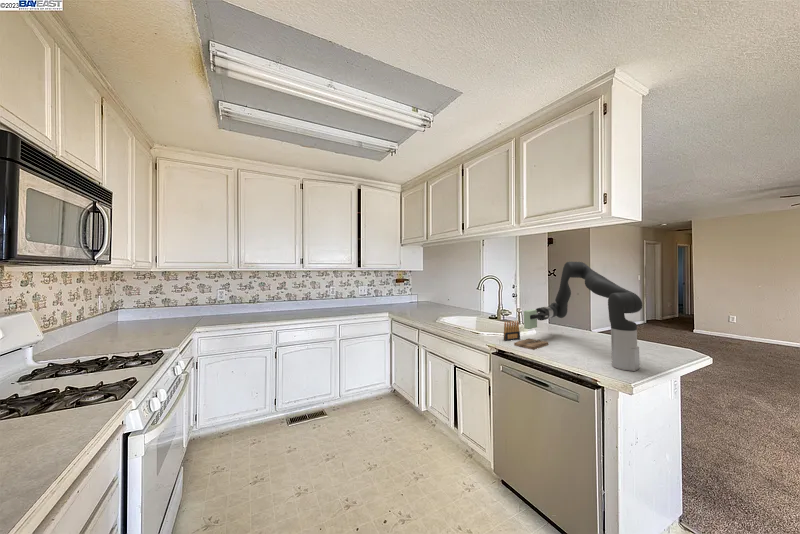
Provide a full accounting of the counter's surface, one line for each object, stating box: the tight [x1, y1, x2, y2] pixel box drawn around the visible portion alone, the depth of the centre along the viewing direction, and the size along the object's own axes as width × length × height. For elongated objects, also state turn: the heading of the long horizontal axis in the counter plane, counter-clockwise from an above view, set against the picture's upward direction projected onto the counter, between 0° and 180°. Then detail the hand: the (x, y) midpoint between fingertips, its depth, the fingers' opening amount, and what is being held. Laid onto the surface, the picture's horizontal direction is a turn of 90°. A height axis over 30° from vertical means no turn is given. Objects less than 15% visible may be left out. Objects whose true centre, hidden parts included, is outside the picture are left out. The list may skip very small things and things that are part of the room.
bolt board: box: [513, 338, 549, 351], centre depth 171 cm, size 12×15×2 cm
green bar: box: [523, 309, 538, 330], centre depth 171 cm, size 3×8×10 cm, turn 125°
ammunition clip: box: [503, 320, 521, 342], centre depth 183 cm, size 11×2×12 cm, turn 105°
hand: (527, 317), depth 169 cm, fingers closed on green bar, 3 cm apart
